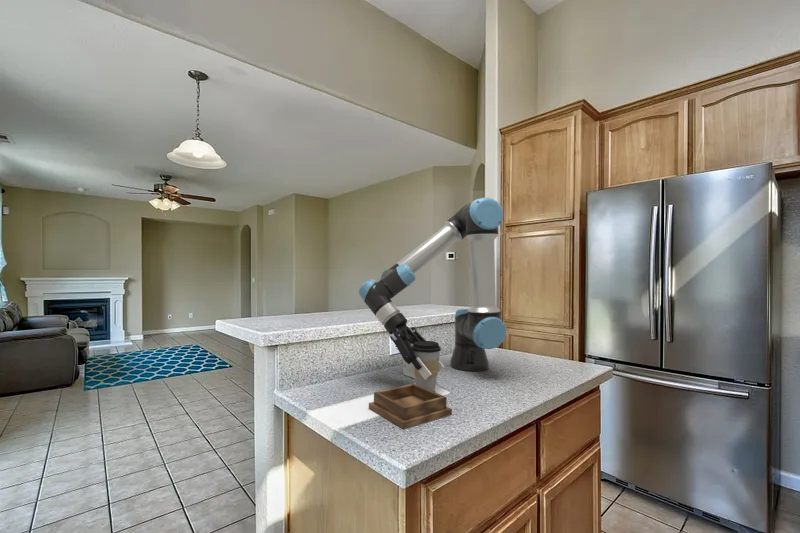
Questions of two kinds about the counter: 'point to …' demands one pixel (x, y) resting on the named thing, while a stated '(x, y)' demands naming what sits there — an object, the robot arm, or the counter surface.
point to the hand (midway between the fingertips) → (434, 373)
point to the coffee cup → (427, 362)
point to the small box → (409, 368)
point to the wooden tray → (409, 405)
